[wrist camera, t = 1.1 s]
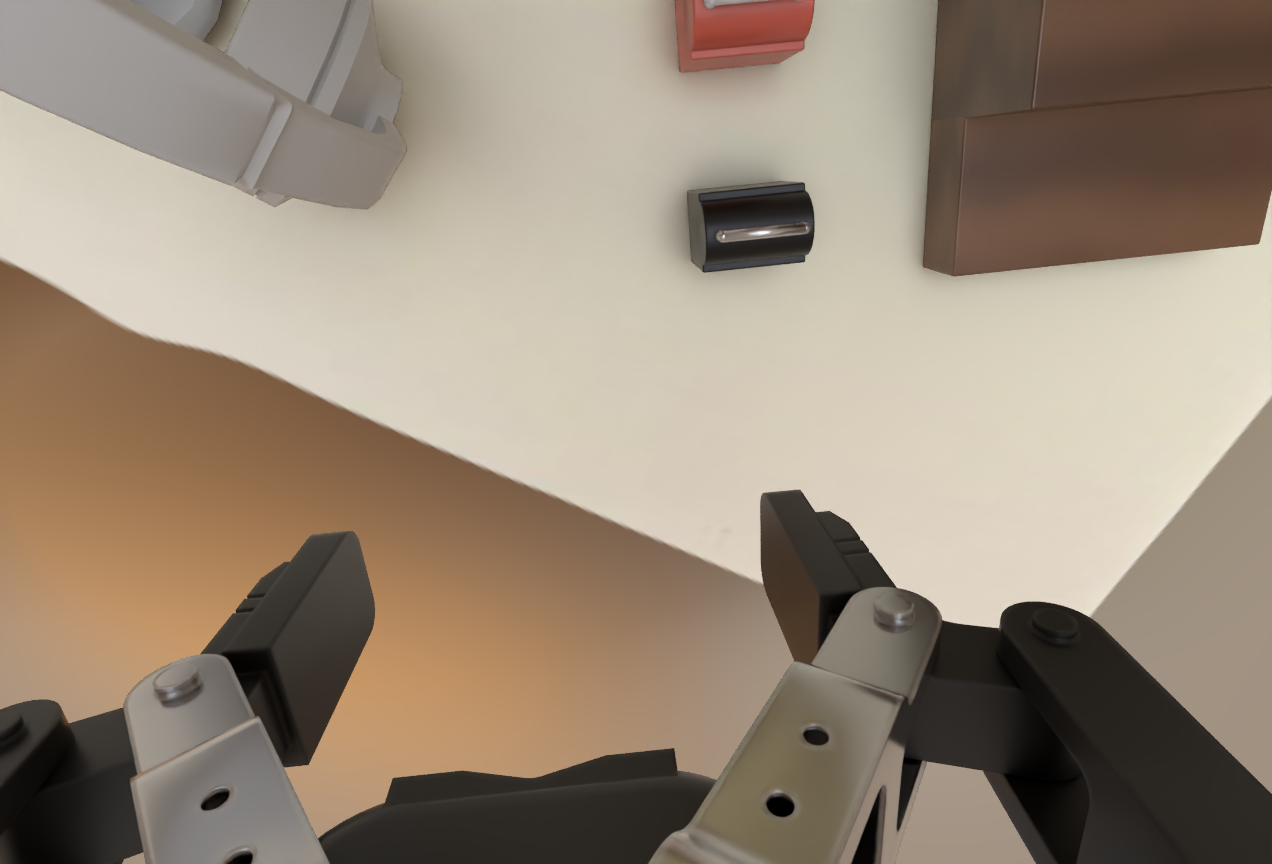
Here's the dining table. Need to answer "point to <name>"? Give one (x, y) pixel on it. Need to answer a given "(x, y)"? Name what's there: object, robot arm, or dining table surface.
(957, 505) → the dining table surface
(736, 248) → the black lunch box
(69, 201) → the dining table surface
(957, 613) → the dining table surface
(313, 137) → the headphones
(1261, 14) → the wooden step stairs
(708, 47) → the red lunch box
